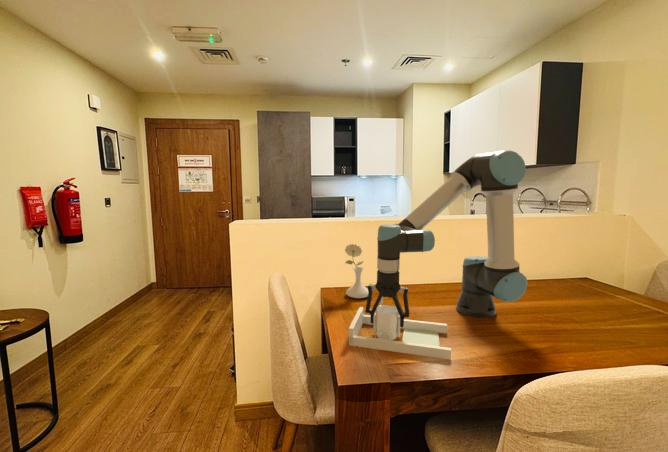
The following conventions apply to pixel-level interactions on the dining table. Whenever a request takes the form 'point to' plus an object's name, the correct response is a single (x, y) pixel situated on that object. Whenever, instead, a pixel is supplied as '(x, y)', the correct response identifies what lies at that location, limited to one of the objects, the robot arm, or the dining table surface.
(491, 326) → the dining table surface
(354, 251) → the flower in vase
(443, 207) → the robot arm
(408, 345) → the bay
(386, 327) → the white cup
